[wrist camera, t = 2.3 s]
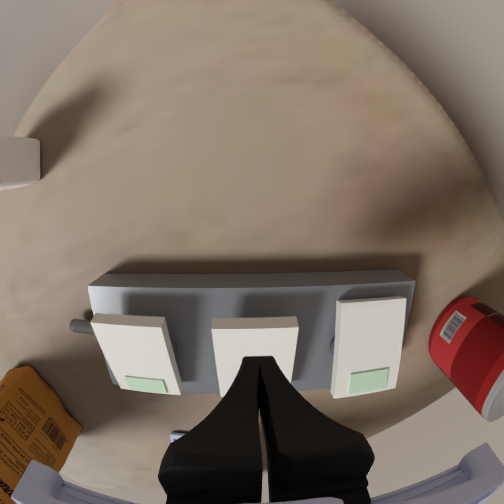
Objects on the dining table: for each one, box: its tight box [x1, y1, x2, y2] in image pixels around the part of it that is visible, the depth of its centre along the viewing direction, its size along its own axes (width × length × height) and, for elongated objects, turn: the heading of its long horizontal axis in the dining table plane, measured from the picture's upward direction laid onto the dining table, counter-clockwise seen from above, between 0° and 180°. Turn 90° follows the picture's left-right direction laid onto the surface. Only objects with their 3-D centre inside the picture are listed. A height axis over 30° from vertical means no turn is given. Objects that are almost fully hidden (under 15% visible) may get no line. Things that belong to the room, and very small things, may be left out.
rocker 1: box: [90, 313, 183, 395], centre depth 18 cm, size 7×5×2 cm
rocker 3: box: [330, 296, 406, 399], centre depth 18 cm, size 7×5×2 cm
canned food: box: [429, 297, 504, 422], centre depth 18 cm, size 8×8×11 cm
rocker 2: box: [211, 316, 299, 397], centre depth 18 cm, size 7×5×2 cm
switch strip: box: [70, 269, 416, 393], centre depth 21 cm, size 9×28×3 cm, turn 90°
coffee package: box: [0, 366, 82, 504], centre depth 14 cm, size 10×12×22 cm
